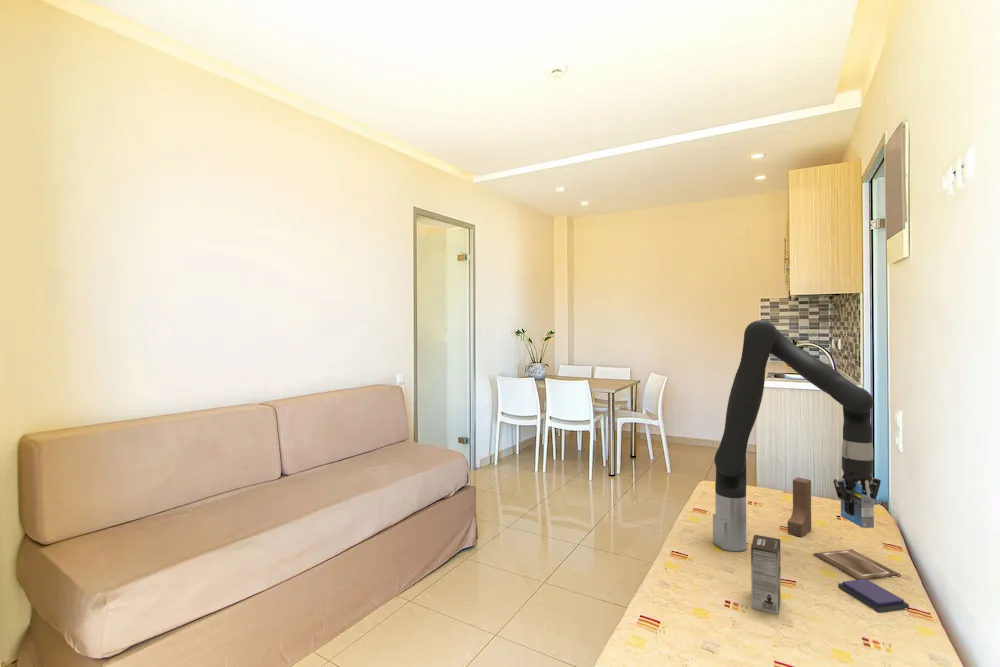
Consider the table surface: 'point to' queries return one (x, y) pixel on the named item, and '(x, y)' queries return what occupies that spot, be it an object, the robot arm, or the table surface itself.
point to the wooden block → (800, 508)
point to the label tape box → (860, 509)
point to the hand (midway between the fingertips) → (856, 513)
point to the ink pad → (873, 595)
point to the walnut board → (856, 564)
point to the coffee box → (765, 574)
